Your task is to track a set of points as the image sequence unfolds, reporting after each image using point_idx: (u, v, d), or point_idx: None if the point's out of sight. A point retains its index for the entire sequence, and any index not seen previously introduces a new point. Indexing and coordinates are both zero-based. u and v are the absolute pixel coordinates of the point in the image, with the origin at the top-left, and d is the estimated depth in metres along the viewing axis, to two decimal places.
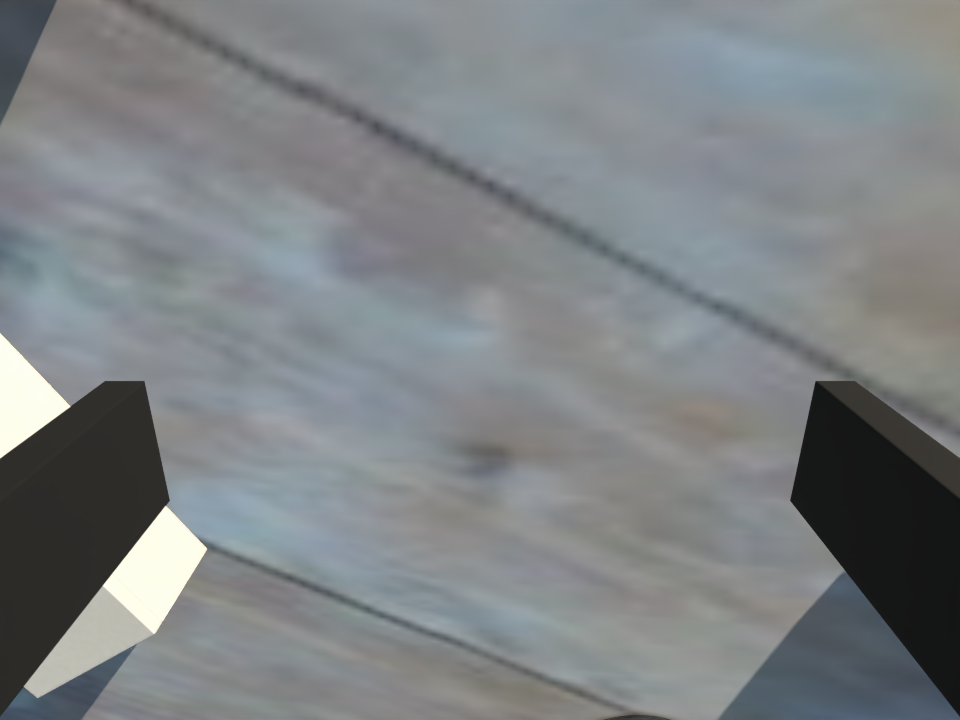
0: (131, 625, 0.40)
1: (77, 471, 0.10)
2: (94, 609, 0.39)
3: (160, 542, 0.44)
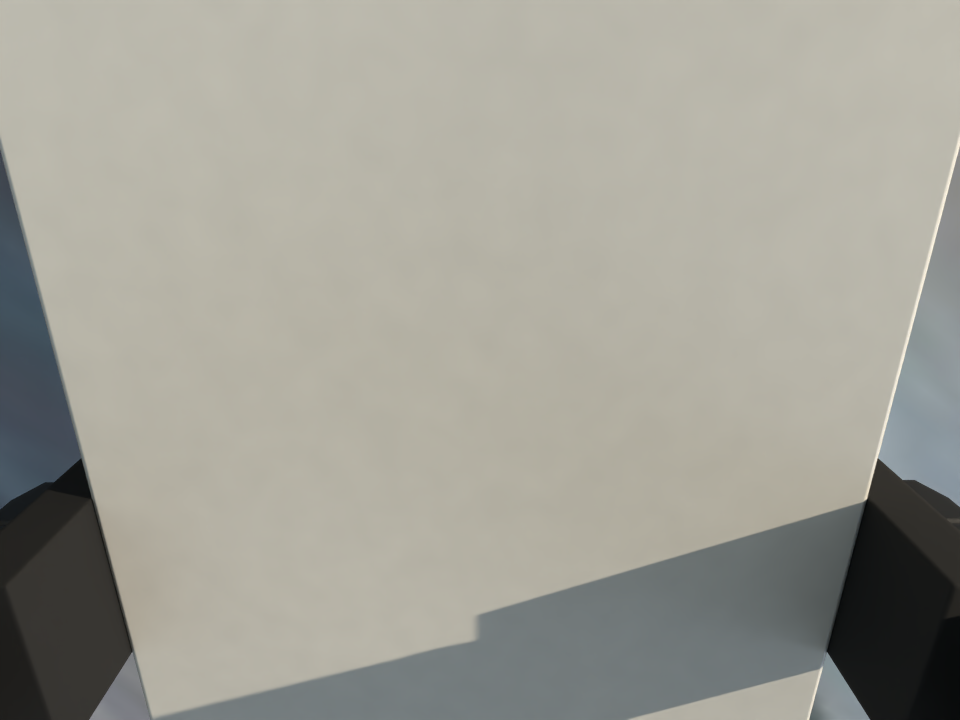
0: (774, 672, 0.10)
1: None
2: (723, 558, 0.09)
3: None
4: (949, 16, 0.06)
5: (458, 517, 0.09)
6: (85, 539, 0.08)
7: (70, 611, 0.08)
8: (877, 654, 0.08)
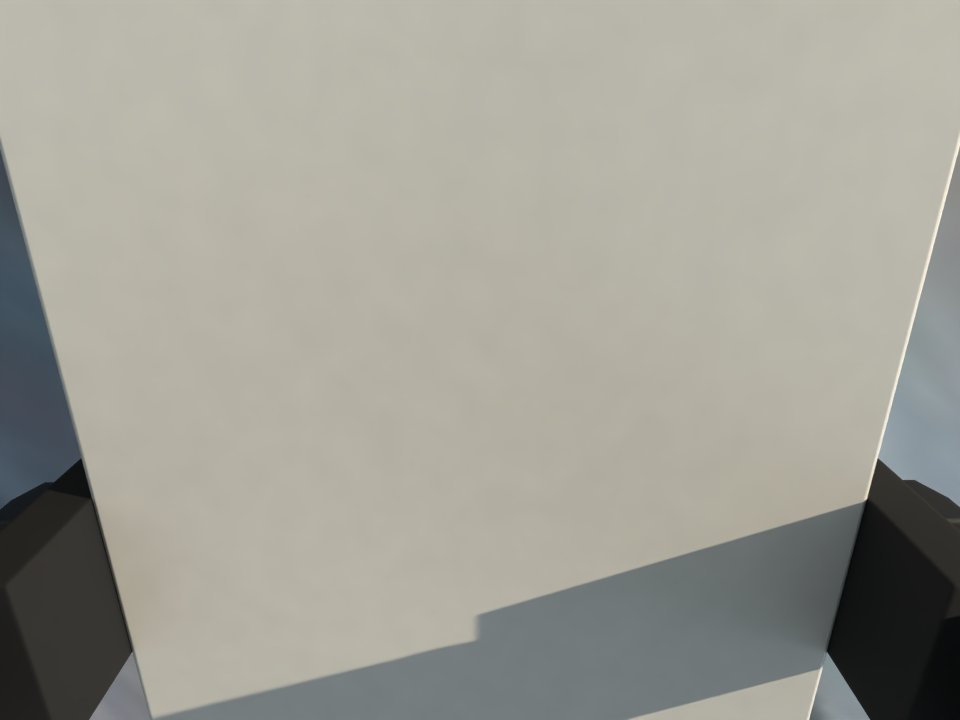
0: (775, 672, 0.10)
1: None
2: (723, 558, 0.09)
3: None
4: (948, 16, 0.06)
5: (457, 517, 0.09)
6: (85, 540, 0.08)
7: (70, 611, 0.08)
8: (877, 654, 0.08)
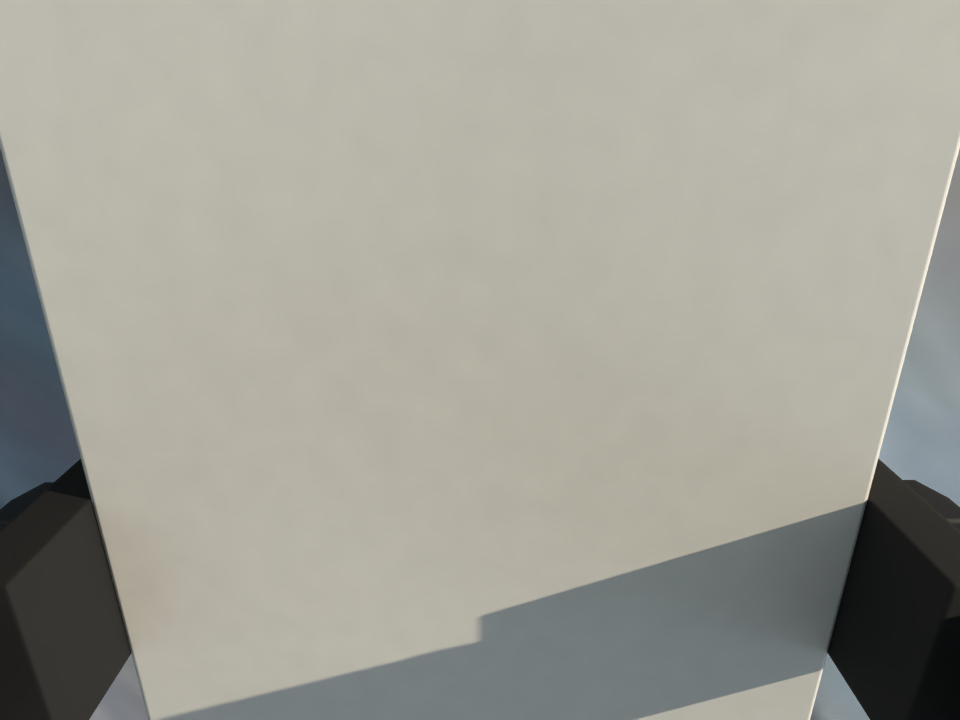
0: (775, 674, 0.10)
1: None
2: (723, 558, 0.09)
3: None
4: (949, 16, 0.06)
5: (457, 517, 0.09)
6: (85, 540, 0.08)
7: (70, 611, 0.08)
8: (877, 654, 0.08)
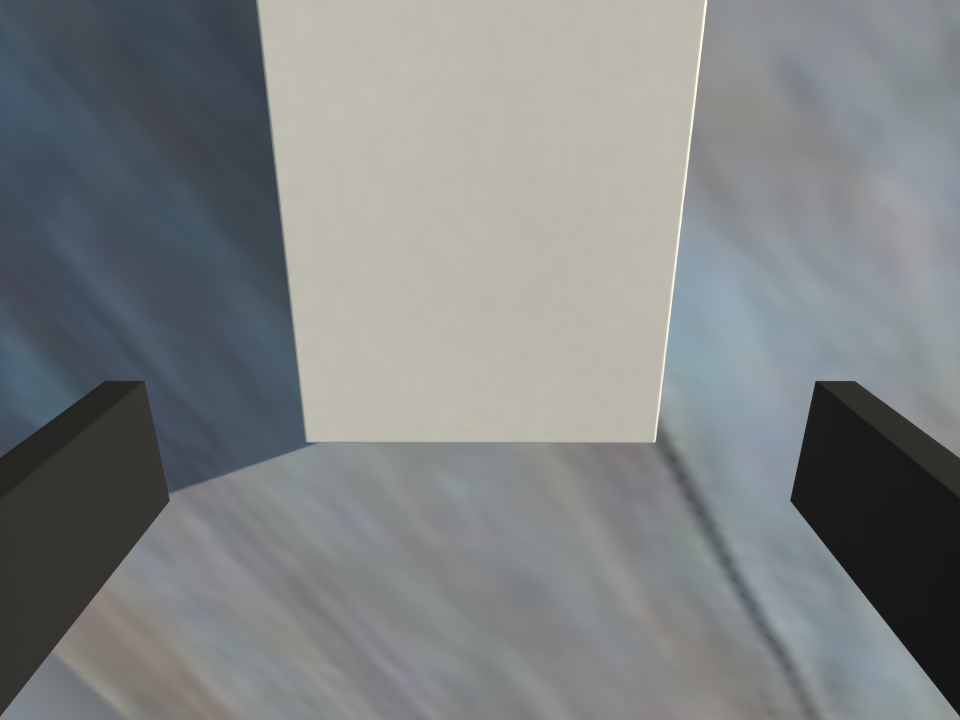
0: (634, 403, 0.18)
1: (77, 472, 0.10)
2: (603, 333, 0.18)
3: None
4: (679, 68, 0.15)
5: (470, 309, 0.17)
6: None
7: None
8: None
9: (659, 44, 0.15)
